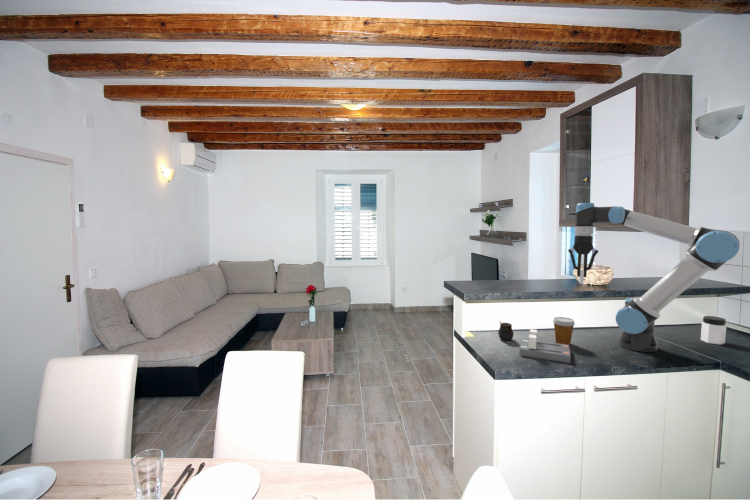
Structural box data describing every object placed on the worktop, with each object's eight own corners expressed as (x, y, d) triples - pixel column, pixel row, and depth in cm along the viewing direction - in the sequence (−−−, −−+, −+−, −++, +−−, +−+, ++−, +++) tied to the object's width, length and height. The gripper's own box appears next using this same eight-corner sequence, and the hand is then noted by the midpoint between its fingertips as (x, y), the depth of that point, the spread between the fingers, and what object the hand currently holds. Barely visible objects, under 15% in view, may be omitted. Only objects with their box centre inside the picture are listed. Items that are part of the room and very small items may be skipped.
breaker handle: (536, 340, 172) (537, 329, 172) (536, 342, 169) (536, 332, 168) (529, 339, 173) (530, 329, 173) (529, 341, 170) (529, 331, 169)
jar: (706, 337, 185) (708, 314, 184) (727, 342, 178) (729, 319, 177) (697, 340, 181) (699, 317, 180) (718, 345, 174) (720, 321, 173)
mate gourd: (516, 340, 182) (517, 321, 181) (505, 343, 179) (505, 323, 178) (506, 336, 188) (506, 317, 187) (494, 338, 185) (495, 319, 184)
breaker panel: (568, 351, 168) (568, 344, 167) (570, 362, 154) (570, 355, 154) (521, 344, 176) (522, 338, 176) (519, 355, 163) (519, 348, 162)
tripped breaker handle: (536, 346, 164) (536, 335, 164) (535, 349, 160) (536, 338, 160) (528, 345, 165) (529, 334, 165) (528, 348, 162) (528, 337, 161)
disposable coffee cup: (576, 347, 172) (577, 322, 171) (555, 346, 174) (556, 321, 173) (570, 340, 182) (571, 317, 180) (549, 339, 183) (550, 316, 182)
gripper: (568, 235, 174) (566, 283, 176) (600, 235, 168) (597, 286, 171) (567, 234, 181) (565, 281, 183) (598, 235, 175) (595, 283, 177)
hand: (581, 283), depth 177 cm, fingers closed
